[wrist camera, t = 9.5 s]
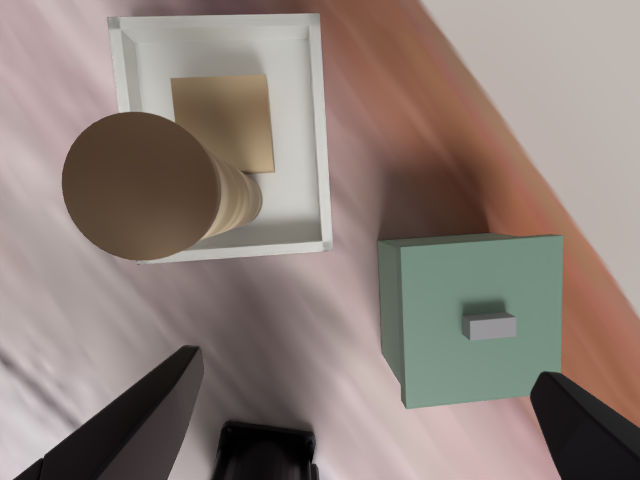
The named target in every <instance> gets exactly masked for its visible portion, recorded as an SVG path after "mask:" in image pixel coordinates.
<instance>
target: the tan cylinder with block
mask: <svg viewBox="0 0 640 480" xmlns="http://www.w3.org/2000/svg"><path fill="white" fill-rule="evenodd" d="M170 81H171V90H172V99H173V108H174V117H175V122H173V121H171V120H169V119H167V118H164V117H162V116H159V115H155V114H152V113H145V112H123V113H118V114H114V115H110V116H107V117H105V118H102V119H100V120H99V121H97V122H95V123H93V124H92V125H91V126H89V127H88V128H87V129H85V130H84V131H83V132H82V133H81V134H80V135H79V137H78V138H77V139H76V140H75V142H74V143H73V145H72V146H71V148H70V150H69V152H68V154H67V157H66V160H65V163H64V167H63V172H62V190H63V196H64V201H65V204H66V207H67V210H68V212H69V214H70V216H71V218H72V220H73V222H74V223H75V225H76V226H77V228H78V229H79V230H80V231H81V232H82V233H83V235H84V236H85V237H86V238H87V239H89V240H90V241H91V242H92V243H93V244H95V245H96V246H98V247H99V248H100V249H102V250H104V251H106V252H108V253H110V254H112V255H115V256H118V257H121V258H125V259H129V260H138V261H150V260H157V259H161V258H165V257H169V256H171V255H174V254H176V253H179V252H181V251H183V250H186V249H187V248H189V247H191V246H193V245H194V244H195V243H196V242H198V241H200V240H203V239H206V238H209V237H212V236H214V235H217V234H220V233H223V232H225V231H228V230H231V229H234V228H237V227H239V226H242V225H245V224H247V223H249V222H251V221H253V220H254V219H255V218H256V217H257V216H258V214H259V213H260V211H261V208H262V203H263V197H262V192H261V190H260V188H259V186H258V184H257V183H256V182H255V181H254V180H253V179H251V178H250V177H249V176H247V175H246V174H260V173H275V163H274V150H273V138H272V125H271V113H270V100H269V88H268V83H267V79H266V75H240V76H213V77H186V78H170Z"/></svg>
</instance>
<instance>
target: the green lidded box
mask: <svg viewBox="0 0 640 480" xmlns="http://www.w3.org/2000/svg"><path fill="white" fill-rule="evenodd" d="M377 247H378V270H379V294H380V317H381V341H382V354H383V356H384V358H385V359H386V361H387V363H388V364H389V366H390V368H391V369H392V371H393V373H394V375H395V376H396V378H397V380H398V381H399V383H400V385H401V401H402V402H403V404H404V406H405V408H406V409H412V408H422V407H431V406H440V405H449V404H458V403H467V402H477V401H486V400H495V399H504V398H513V397H522V396H530V392H531V390H532V388H533V386H534V384H535V382H536V380H537V378H538V376H539V374H540V373H541V372H543V371H550V372H558V373H561V325H562V272H563V236H562V235H553V234H548V235H534V236H520V237H518V236H510V235H503V234H495V233H481V234H467V235H452V236H438V237H424V238H410V239H395V240H381V241H377Z"/></svg>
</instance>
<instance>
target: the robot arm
mask: <svg viewBox="0 0 640 480" xmlns="http://www.w3.org/2000/svg"><path fill="white" fill-rule="evenodd" d="M203 373H204V366H203V358H202V351H201V348H200V347H199V346H192V345H185V346H183V347H181V348H180V349H179V350H177V351H176V352H175V353H174V354H172V355H171V356H170V357H168V358H167V359H166V360H165V361H163V362H162V363H161V364H160V365H158V366H157V367H156V368H154V369H153V370H152V371H151V372H149V373H148V374H147V375H146V376H144V377H143V378H142V379H140V380H139V381H138V382H137V383H135V384H134V385H133V386H132V387H130V388H129V389H128V390H127V391H125V392H124V393H123V394H121V395H120V396H119V397H118V398H116V399H115V400H114V401H113V402H111V403H110V404H109V405H107V406H106V407H105V408H104V409H102V410H101V411H100V412H99V413H97V414H96V415H95V416H94V417H92V418H91V419H90V420H88V421H87V422H86V423H85V424H83V425H82V426H81V427H80V428H78V429H77V430H76V431H74V432H73V433H72V434H71V435H69V436H68V437H67V438H66V439H64V440H63V441H62V442H60V443H59V444H58V445H57V446H55V447H54V448H53V449H52V450H50V451H49V452H48V453H47V454H45V456H44V458H40V459H39V460H37V461H36V462H35V463H34V464H32V465H31V466H30V467H29V468H27V469H26V470H25V471H23V472H22V473H21V474H20V475H18V476H17V477H16V478H14V479H13V480H167V479H168V476H169V474H170V472H171V469H172V467H173V464H174V462H175V460H176V457H177V455H178V452H179V450H180V448H181V445H182V442H183V440H184V437H185V434H186V431H187V428H188V425H189V421H190V418H191V415H192V411H193V408H194V405H195V401H196V398H197V395H198V391H199V388H200V385H201V381H202V378H203ZM530 400H531V403H532V406H533V409H534V411H535V414H536V417H537V419H538V422H539V425H540V427H541V430H542V433H543V435H544V438H545V441H546V444H547V446H548V449H549V452H550V454H551V457H552V459H553V462H554V464H555V466H556V468H557V471H558V473H559V475H560V477H561V479H562V480H640V428H639V427H637V426H636V425H635V424H633V423H632V422H630V421H629V420H627V419H626V418H624V417H623V416H622V415H620V414H619V413H617V412H616V411H614V410H613V409H612V408H610V407H609V406H607V405H606V404H604V403H603V402H602V401H600V400H599V399H597V398H596V397H594V396H593V395H591V394H590V393H589V392H587V391H586V390H584V389H583V388H581V387H580V386H579V385H577V384H576V383H574V382H573V381H571V380H570V379H569V378H567V377H566V376H564V375H563V374H561V373H558V372H550V371H543V372H541V373H540V374H539V376H538V378H537V380H536V382H535V384H534V386H533V388H532V390H531V392H530ZM226 429H231V430H232V431H230V432H229V431H227V430H226ZM307 439H310V440H311V441H310V442H307V441H306V440H307ZM315 445H316V438H315V435H314V434H313V433H311V432H306V431H299V430H292V429H284V428H277V427H270V426H262V425H255V424H247V423H240V422H233V421H228V422H226V423H225V424H224V425H223V427H222V430H221V435H220V440H219V446H218V451H217V456H216V462H215V467H214V470H213V473H212V477H211V480H319V471H318V467H317V465H316V464H311V463H312V459H313V454H314V449H315Z"/></svg>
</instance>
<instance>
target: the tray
mask: <svg viewBox="0 0 640 480" xmlns="http://www.w3.org/2000/svg"><path fill="white" fill-rule="evenodd" d="M107 20H108V28H109V36H110V44H111V53H112V61H113V69H114V77H115V85H116V93H117V102H118V110H119V113H123V112H145V113H152V114H155V115H159V116H162V117H164V118H167V119H169V120H171V121H173V122H175V117H174V108H173V99H172V90H171V81H170V78H186V77H213V76H240V75H266V79H267V83H268V88H269V100H270V113H271V125H272V138H273V150H274V163H275V173H260V174H246V175H247V176H249V177H250V178H251V179H253V180H254V181H255V182H256V183H257V184H258V186H259V188H260V190H261V192H262V197H263V203H262V208H261V211H260V213H259V214H258V216H257V217H256V218H255V219H254V220H253V221H251V222H249V223H247V224H245V225H242V226H239V227H237V228H234V229H231V230H228V231H225V232H223V233H220V234H217V235H214V236H212V237H209V238H206V239H203V240H200V241H198V242H196V243H195V244H194V245H193V246H191V247H189V248H187V249H186V250H183V251H181V252H179V253H176V254H174V255H171V256H169V257H165V258H161V259H157V260H150V261H138V260H137V265H140V264H154V263H168V262H182V261H196V260H210V259H224V258H238V257H252V256H265V255H279V254H293V253H307V252H321V251H333V242H332V224H331V207H330V189H329V172H328V154H327V137H326V119H325V102H324V84H323V67H322V49H321V32H320V14H319V13H308V14H254V15H200V16H145V17H107Z"/></svg>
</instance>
